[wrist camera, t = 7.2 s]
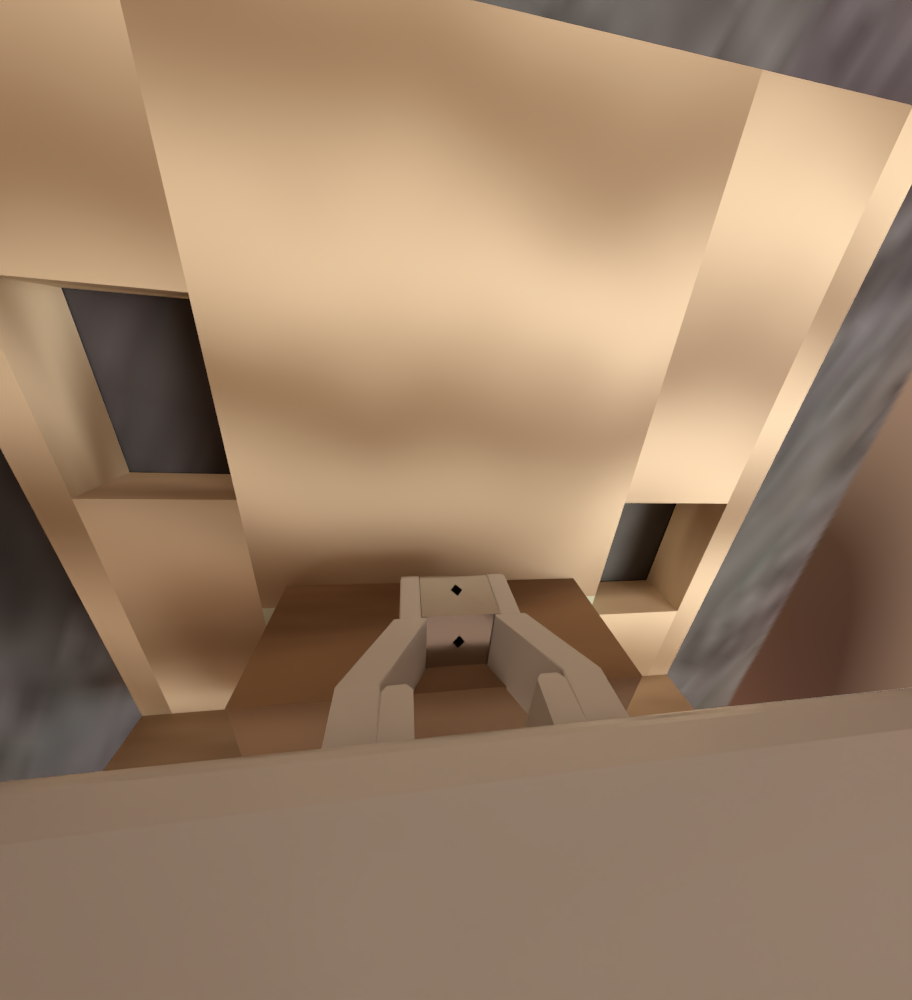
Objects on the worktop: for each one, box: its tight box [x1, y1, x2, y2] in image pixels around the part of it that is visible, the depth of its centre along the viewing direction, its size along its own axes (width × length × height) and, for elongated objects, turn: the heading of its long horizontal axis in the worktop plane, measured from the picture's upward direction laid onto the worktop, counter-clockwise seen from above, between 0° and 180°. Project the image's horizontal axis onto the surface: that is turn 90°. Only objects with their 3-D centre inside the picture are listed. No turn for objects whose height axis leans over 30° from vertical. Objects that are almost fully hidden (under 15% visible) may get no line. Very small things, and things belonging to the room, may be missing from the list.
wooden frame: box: [0, 0, 912, 771], centre depth 10 cm, size 20×22×5 cm
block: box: [225, 578, 642, 757], centre depth 11 cm, size 5×10×4 cm, turn 86°
